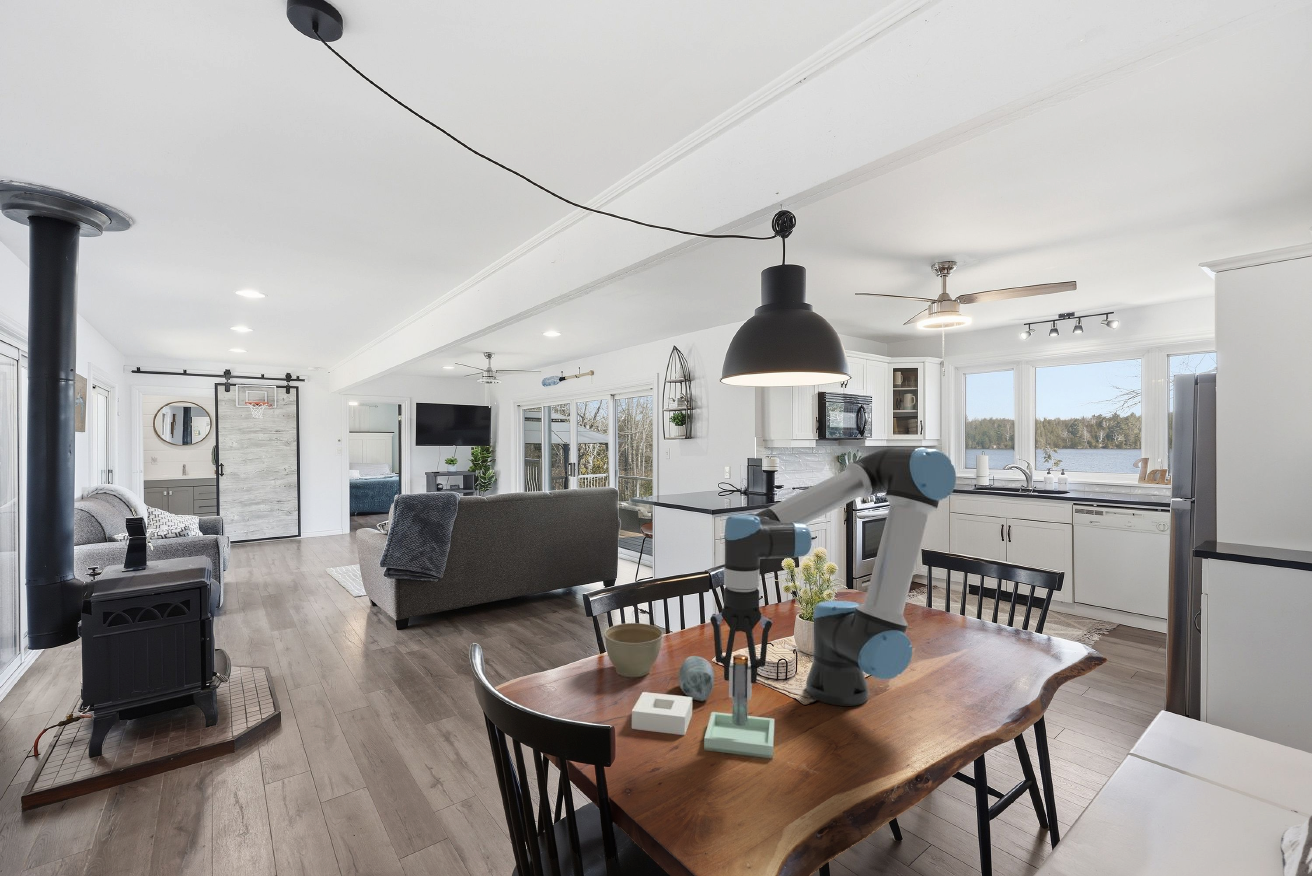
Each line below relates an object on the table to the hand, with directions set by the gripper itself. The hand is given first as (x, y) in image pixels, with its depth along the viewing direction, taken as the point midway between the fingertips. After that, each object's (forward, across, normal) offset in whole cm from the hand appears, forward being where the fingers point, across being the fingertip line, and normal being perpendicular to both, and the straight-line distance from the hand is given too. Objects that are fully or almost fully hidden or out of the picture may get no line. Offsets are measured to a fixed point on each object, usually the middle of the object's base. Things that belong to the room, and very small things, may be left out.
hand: (740, 696), depth 127 cm
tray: (+9, 0, 0) cm, 9 cm away
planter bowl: (+10, +32, -30) cm, 45 cm away
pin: (+6, 0, 0) cm, 6 cm away
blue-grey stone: (+10, +13, -21) cm, 27 cm away
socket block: (+9, +18, -4) cm, 21 cm away
